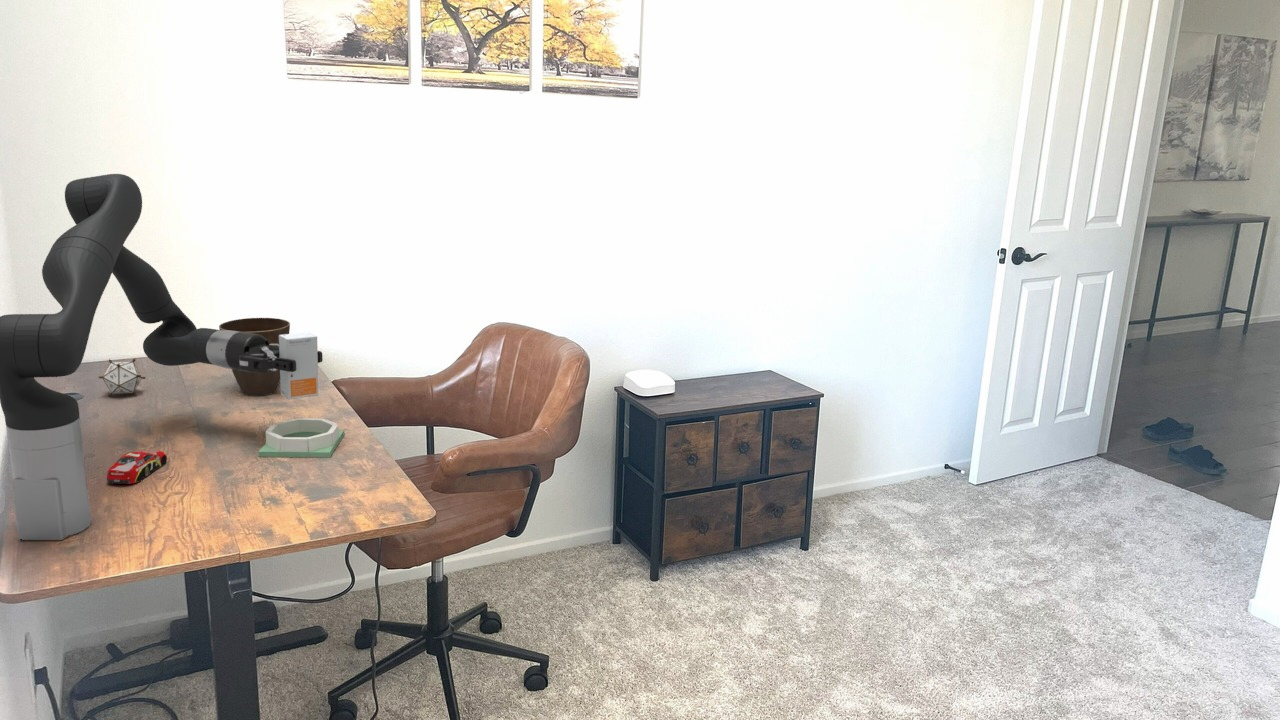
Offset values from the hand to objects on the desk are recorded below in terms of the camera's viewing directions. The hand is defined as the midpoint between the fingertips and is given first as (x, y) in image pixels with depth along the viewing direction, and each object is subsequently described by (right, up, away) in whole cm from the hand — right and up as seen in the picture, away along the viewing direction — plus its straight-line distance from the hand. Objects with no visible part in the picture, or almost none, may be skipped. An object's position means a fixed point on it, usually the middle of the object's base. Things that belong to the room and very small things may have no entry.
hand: (308, 361), depth 174 cm
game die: (-53, -8, +31) cm, 61 cm away
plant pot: (-25, -7, +38) cm, 46 cm away
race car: (-26, -20, -12) cm, 35 cm away
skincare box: (-2, -7, +2) cm, 8 cm away
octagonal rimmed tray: (-3, -16, +5) cm, 17 cm away
